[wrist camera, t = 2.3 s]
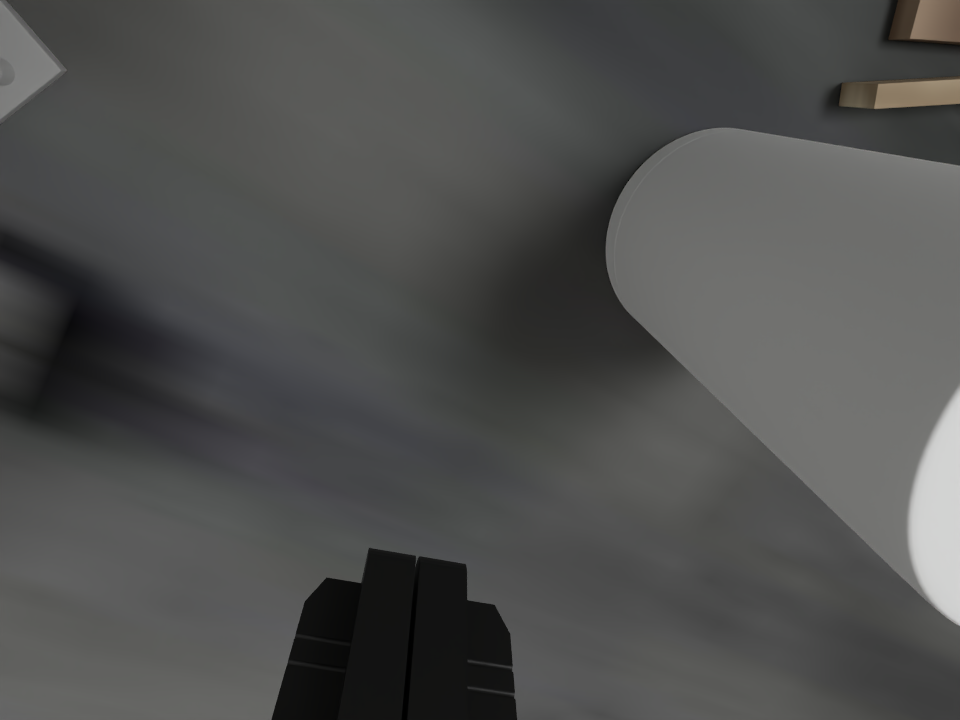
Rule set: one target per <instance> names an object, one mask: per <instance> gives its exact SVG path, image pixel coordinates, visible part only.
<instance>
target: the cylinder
mask: <svg viewBox="0 0 960 720" xmlns="http://www.w3.org/2000/svg"><path fill="white" fill-rule="evenodd" d="M606 264H607V271H608V275H609V279H610V282H611V285H612V287H613V289H614V292H615V294H616V296H617V297H618V299H619V301H620V302H621V304H622V305H623V307H624V308H625V309H626V310H627V311H628V313H629V314H630V315H631V316H632V317H633V318H634V319H635V320H636V321H638V322H639V323H640V324H641V325H642V326H643V327H644V328H645V329H646V330H647V331H648V332H649V333H650V334H651V335H652V336H653V337H654V338H655V339H656V340H657V341H658V342H659V343H660V344H661V345H662V346H663V347H664V348H665V349H666V350H667V351H669V352H670V353H671V354H672V355H673V356H674V357H675V358H676V359H677V360H678V361H679V362H680V363H681V364H682V365H683V366H684V367H685V368H686V369H687V370H688V371H689V372H690V373H691V374H692V375H693V376H694V377H695V378H696V379H697V380H698V381H699V382H701V383H702V384H703V385H704V386H705V387H706V388H707V389H708V390H709V391H710V392H711V393H712V394H713V395H714V396H715V397H716V398H717V399H718V400H719V401H720V402H721V403H722V404H723V405H724V406H725V407H726V408H727V409H728V410H729V411H730V412H732V413H733V414H734V415H735V416H736V417H737V418H738V419H739V420H740V421H741V422H742V423H743V424H744V425H745V426H746V427H747V428H748V429H749V430H750V431H751V432H752V433H753V434H754V435H755V436H756V437H757V438H758V439H759V440H760V441H761V442H763V443H764V444H765V445H766V446H767V447H768V448H769V449H770V450H771V451H772V452H773V453H774V454H775V455H776V456H777V457H778V458H779V459H780V460H781V461H782V462H783V463H784V464H785V465H786V466H787V467H788V468H789V469H790V470H791V471H792V472H794V473H795V474H796V475H797V476H798V477H799V478H800V479H801V480H802V481H803V482H804V483H805V484H806V485H807V486H808V487H809V488H810V489H811V490H812V491H813V492H814V493H815V494H816V495H817V496H818V497H819V498H820V499H821V500H822V501H823V502H825V503H826V504H827V505H828V506H829V507H830V508H831V509H832V510H833V511H834V512H835V513H836V514H837V515H838V516H839V517H840V518H841V519H842V520H843V521H844V522H845V523H846V524H847V525H848V526H849V527H850V528H851V529H852V530H853V531H854V532H856V533H857V534H858V535H859V536H860V537H861V538H862V539H863V540H864V541H865V542H866V543H867V544H868V545H869V546H870V547H871V548H872V549H873V550H874V551H875V552H876V553H877V554H878V555H879V556H880V557H881V558H882V559H883V560H884V561H885V562H887V563H888V564H889V565H890V566H891V567H892V568H893V569H894V570H895V571H896V572H897V573H898V574H899V575H900V576H901V577H902V578H903V579H904V580H905V581H906V582H907V583H908V584H909V585H910V586H912V587H913V588H914V589H915V590H916V591H917V592H918V593H919V594H920V595H921V596H922V597H923V598H924V599H925V600H926V601H927V602H929V603H930V604H931V605H932V606H933V607H934V608H935V609H937V610H938V611H939V612H940V613H941V614H943V615H944V616H945V617H946V618H948V619H949V620H951V621H952V622H954V623H955V624H957V625H959V626H960V166H957V165H951V164H945V163H939V162H933V161H927V160H921V159H915V158H910V157H904V156H898V155H892V154H886V153H880V152H874V151H868V150H862V149H856V148H850V147H844V146H838V145H832V144H826V143H820V142H814V141H808V140H802V139H796V138H790V137H784V136H778V135H772V134H766V133H760V132H754V131H749V130H743V129H737V128H713V129H706V130H701V131H697V132H694V133H691V134H688V135H685V136H683V137H681V138H678V139H676V140H675V141H673V142H671V143H669V144H667V145H666V146H664V147H663V148H661V149H660V150H658V151H657V152H656V153H654V154H653V155H652V156H651V157H650V158H649V159H647V160H646V161H645V162H644V163H643V164H642V165H641V166H640V167H639V169H638V170H637V171H636V172H635V173H634V174H633V176H632V177H631V178H630V180H629V181H628V182H627V184H626V186H625V187H624V189H623V190H622V192H621V194H620V196H619V198H618V200H617V202H616V204H615V207H614V209H613V212H612V215H611V218H610V221H609V226H608V230H607V237H606Z"/></svg>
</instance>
